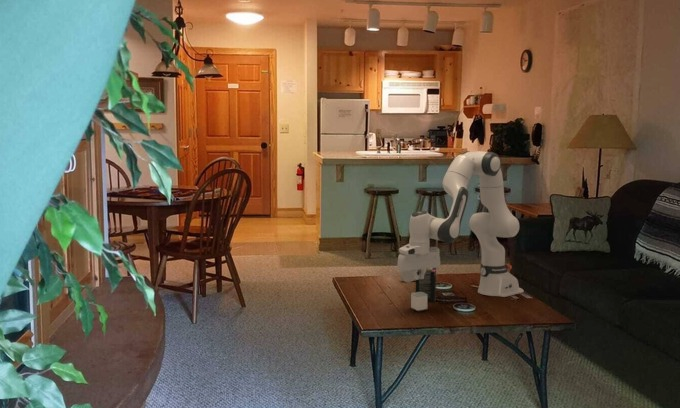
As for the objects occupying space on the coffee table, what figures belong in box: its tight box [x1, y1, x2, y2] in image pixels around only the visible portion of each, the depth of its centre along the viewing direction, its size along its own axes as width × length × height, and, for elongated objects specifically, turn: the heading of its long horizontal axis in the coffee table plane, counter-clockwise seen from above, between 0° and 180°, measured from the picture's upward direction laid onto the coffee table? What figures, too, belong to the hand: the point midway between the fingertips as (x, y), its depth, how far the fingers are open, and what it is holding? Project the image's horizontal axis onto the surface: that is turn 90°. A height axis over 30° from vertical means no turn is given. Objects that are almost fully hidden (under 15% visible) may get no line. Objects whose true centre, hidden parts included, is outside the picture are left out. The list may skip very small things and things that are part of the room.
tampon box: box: [415, 268, 437, 303], centre depth 293 cm, size 11×9×15 cm
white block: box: [410, 291, 428, 311], centre depth 274 cm, size 5×5×7 cm
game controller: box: [399, 271, 438, 283], centre depth 327 cm, size 20×2×8 cm, turn 100°
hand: (419, 279), depth 273 cm, fingers closed
